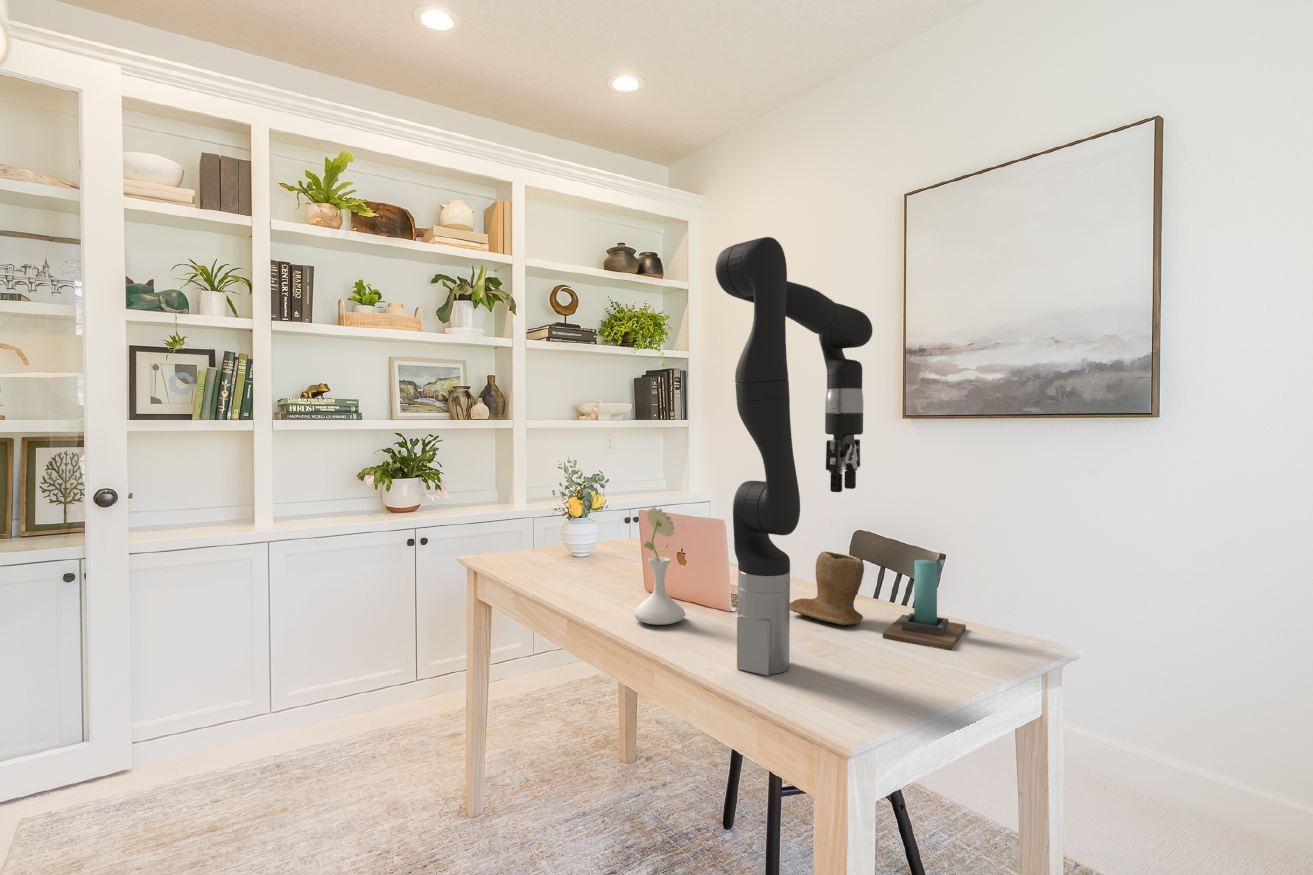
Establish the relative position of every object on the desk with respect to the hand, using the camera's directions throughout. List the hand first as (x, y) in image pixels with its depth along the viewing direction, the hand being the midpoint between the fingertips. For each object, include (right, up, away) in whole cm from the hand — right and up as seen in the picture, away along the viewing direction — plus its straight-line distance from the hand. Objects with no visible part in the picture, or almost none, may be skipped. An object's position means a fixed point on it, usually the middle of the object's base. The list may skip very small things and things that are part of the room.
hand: (843, 490), depth 137 cm
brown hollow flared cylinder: (+1, -30, +12) cm, 33 cm away
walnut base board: (+18, -30, +2) cm, 35 cm away
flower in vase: (-38, -30, +11) cm, 50 cm away
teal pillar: (+18, -29, +2) cm, 34 cm away
